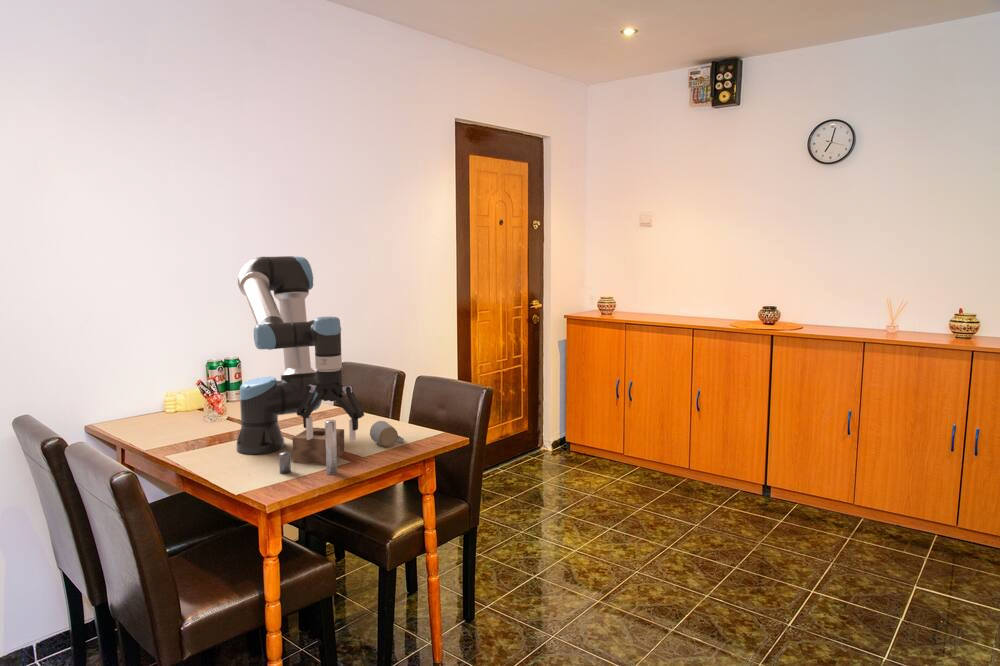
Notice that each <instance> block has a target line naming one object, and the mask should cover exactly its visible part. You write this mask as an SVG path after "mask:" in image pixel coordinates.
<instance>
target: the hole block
mask: <svg viewBox="0 0 1000 666" xmlns="http://www.w3.org/2000/svg"><path fill="white" fill-rule="evenodd" d="M336 442H337V459H339V458H340V457H342V456H343V455H344V454H345V453H346V450H345V448H346V447H345V445H346V444H345V443H346V442H345V429H343V428H336ZM292 456H293V457H292V458H293V460H292V461H293V462H292V463H295V464H296V463H299V464H312V465H313V464H314V465H326V444H325V427H324V428H323V427H313V438H311V439H310V440H307V435H306V429H305V430H303V431H302V432H300V433H298V434H295V436H293V437H292Z"/></svg>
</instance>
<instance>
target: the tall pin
mask: <svg viewBox="0 0 1000 666" xmlns="http://www.w3.org/2000/svg"><path fill="white" fill-rule="evenodd" d="M324 428H325V444H326V464H325V468H326V469H325V471H326V472H325V474H326V475H327V476H333V475H336V474H338V458H337V442H336V429H337V420H336V419H326V420H325V421H324Z"/></svg>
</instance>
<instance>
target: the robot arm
mask: <svg viewBox="0 0 1000 666" xmlns="http://www.w3.org/2000/svg"><path fill="white" fill-rule="evenodd" d="M313 273H314V272H313V270H312V266H311V264H310V262H309V260H308V259H307V258H306V257H302V256H293V255H291V256H288V255H287V256H286V255H285V256H284V255H283V256H259V257H258V256H257V257H255V258H253V259H251V260H249V261H248V262H247V263H245V264H244V265H243V267H242V268H241V269H240V271H239V272H238V275H237V276H238V277H237V286H238V288H239V290H240V293H242V295H244V296H245V297H246V300H247V303H248V306H249V307H250V310H251V314H252V315H253V318H254V320H255V323H256V325H254V327H253V341H254V345H255V346H254V347H256V349H258V350H268V351H269V350H270V351H271V350H279V349H283V359H284V360H283V361H284V363H283V364H284V371H283V372H282V373H281V374H280V379H281V380H278V379H277V378H276V377H274V376H261V377H255V378H252V379H248V380H247V381H245V382H243V383H242V384H241V385H240V387H239V397H238V399H239V405H240V406H239V407H240V425H241V426H240V429H239V432H238V433H239V434H238V438H237V440H236V451H237V452H239V453H240V454H245V455H260V454H261V455H262V454H268V453H274V452H277V451H279V450H281V449H283V448H284V447H285V438H284V436H283V433H282V431H281V428H280V426H279V419H278V418H279V416H285V415H292V414H296V415H297V417H299V416H300V417H302V419H303V428H304V429H305V430H306V435H307V440H310V439H311V438H313V428H314V425H313V416H312V415H311V414H312V413H313V412H314V411H317V410H319V408H320V406H321V405H322V401H323V402H328V401H329V402H335V403H337V404H338V405H339V406H340V407H341V408H342V409H343V410H344V411H345V414H347V415H348V417H349V418H350V419H349V420H348V424H349V426H348V428H349V431H348V433H349V443H353V442H355V441H356V440H357V438H356V437H357V434H356V431H357V430H358V429H359V419H360V418H363V417H364V416H365V413H364V411H363V408H362V407H361V404H360V403H359V401H358V399H357V397H356V395H355V393H354V387H353V385H348V386H344V384H343V370H342V367H343V362H342V327H341V320H340V318H339V317H338V316H319V317H316V318H314V319H312V320H309V321H308V320H307V318H308V317H307V310H306V298H307V297H308V296H309V294H310V290H312V289H313V288H314V274H313ZM272 291H273V294H272ZM273 296H274V297H273ZM275 299H277V300H278V302H279V308H278V305H277V303H276V301H275ZM310 347H314V357H315V358H314V359H315V362H314V363H315V369H316V370H314V369H313V368H312V366H311V353H310ZM343 393H344V394H346V397H347V399H348V400H347V399H346V397H345V396H344V395H343ZM348 401H349V402H348Z"/></svg>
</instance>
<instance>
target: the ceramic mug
mask: <svg viewBox="0 0 1000 666" xmlns="http://www.w3.org/2000/svg"><path fill="white" fill-rule="evenodd" d="M369 435H370V436H369V437H370V439H371V440H372V441H373V442H374V443H377V444H378V445H379V446H381V447H384V448H390V447H392V446H394V445H395V444H396V443H399V444H403V443H402V442H404V440H405V438H404V437H402V436H400V435H399V433H398V431H397V430H396V428H395V427H394V426H392V425H391V424H389V423H388V422H387V421H385V420H378V421H376V422H374V423H373V424H372V425H371V427H370V429H369Z"/></svg>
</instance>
